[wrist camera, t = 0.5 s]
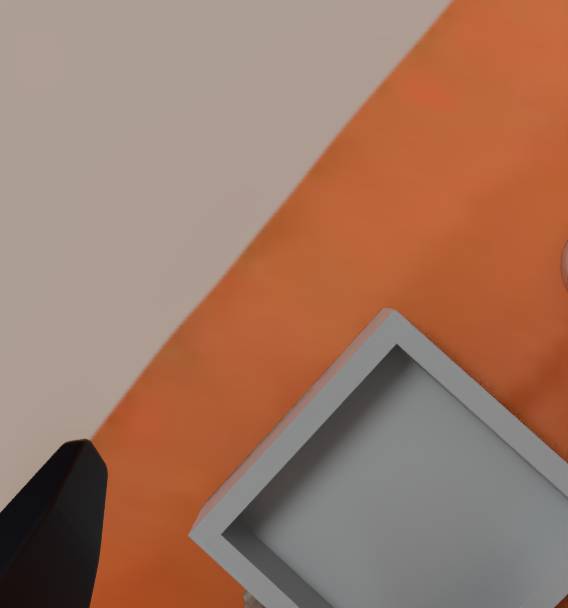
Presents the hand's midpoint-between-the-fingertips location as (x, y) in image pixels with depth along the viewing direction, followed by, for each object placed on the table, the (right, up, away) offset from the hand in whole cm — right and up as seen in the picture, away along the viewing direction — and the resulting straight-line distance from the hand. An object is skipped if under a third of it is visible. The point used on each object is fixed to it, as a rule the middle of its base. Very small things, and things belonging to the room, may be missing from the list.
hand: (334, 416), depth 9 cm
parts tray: (+4, -7, +14) cm, 17 cm away
